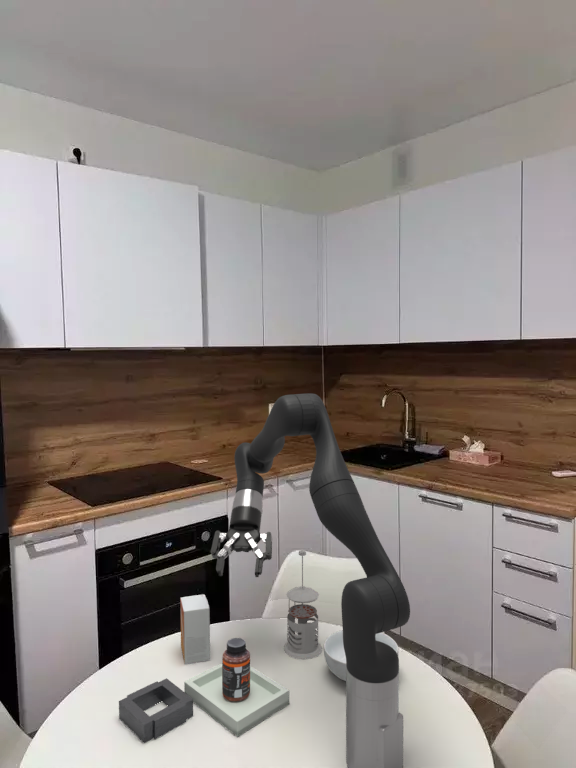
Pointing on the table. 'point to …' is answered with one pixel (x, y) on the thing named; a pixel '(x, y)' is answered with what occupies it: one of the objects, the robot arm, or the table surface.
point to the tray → (238, 714)
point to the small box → (195, 629)
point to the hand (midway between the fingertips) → (238, 575)
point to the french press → (302, 623)
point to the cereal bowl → (337, 654)
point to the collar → (162, 720)
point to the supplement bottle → (236, 670)
